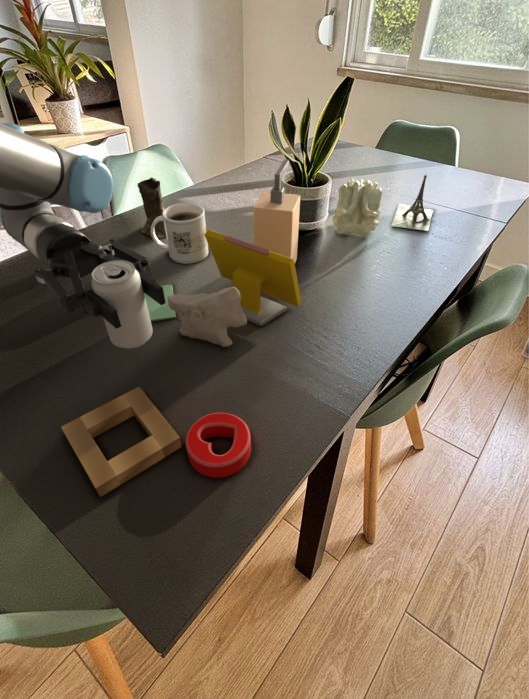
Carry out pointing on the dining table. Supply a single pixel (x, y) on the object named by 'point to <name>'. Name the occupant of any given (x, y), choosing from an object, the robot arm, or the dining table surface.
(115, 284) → the beverage can
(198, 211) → the mug
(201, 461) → the decorative ornament
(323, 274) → the dining table surface
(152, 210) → the tree stump
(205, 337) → the sculpture
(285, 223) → the soap dispenser
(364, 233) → the wavy plaster lump
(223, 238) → the yellow framed monitor
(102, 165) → the robot arm
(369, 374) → the dining table surface
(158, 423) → the can stand
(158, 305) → the mat
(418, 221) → the eiffel tower figurine
